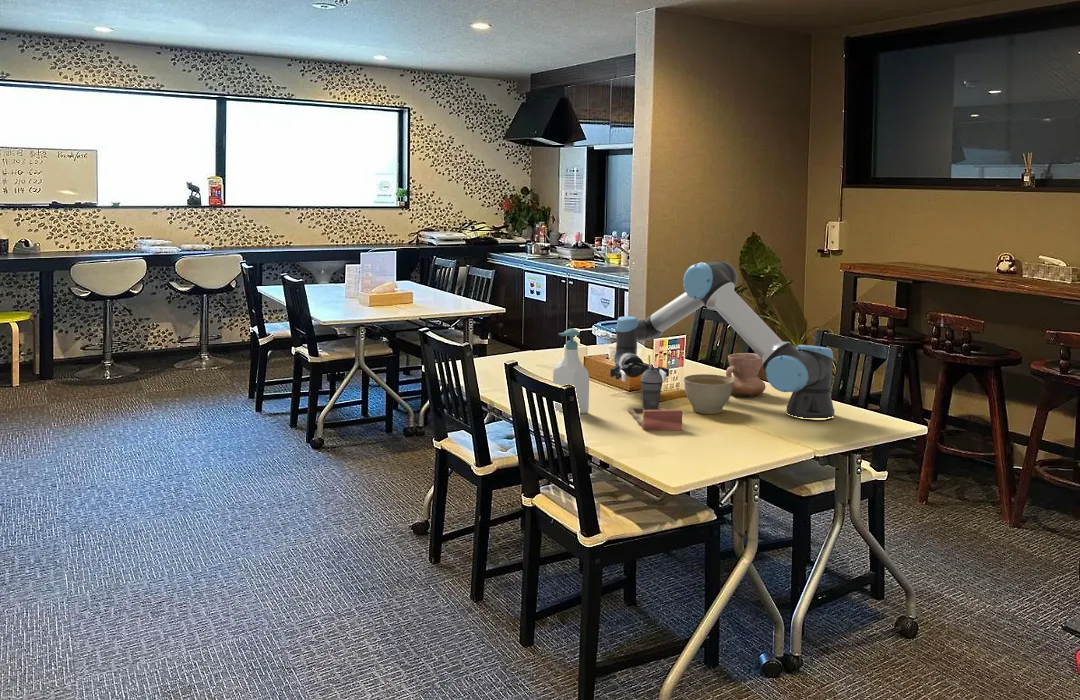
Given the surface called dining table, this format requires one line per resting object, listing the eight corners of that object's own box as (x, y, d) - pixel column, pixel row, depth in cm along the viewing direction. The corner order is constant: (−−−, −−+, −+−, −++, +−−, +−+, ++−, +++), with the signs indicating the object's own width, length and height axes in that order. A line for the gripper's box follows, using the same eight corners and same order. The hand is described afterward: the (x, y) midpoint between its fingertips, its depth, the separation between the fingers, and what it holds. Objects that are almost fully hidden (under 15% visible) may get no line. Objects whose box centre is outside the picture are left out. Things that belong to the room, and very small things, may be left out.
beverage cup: (655, 420, 289) (658, 358, 286) (635, 417, 293) (637, 356, 290) (665, 415, 295) (667, 355, 292) (644, 412, 299) (647, 352, 296)
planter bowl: (679, 404, 311) (681, 373, 309) (727, 405, 310) (729, 374, 308) (685, 416, 295) (686, 383, 293) (735, 417, 294) (737, 384, 293)
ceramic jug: (745, 387, 338) (746, 350, 336) (776, 394, 327) (777, 355, 324) (710, 394, 328) (711, 355, 326) (740, 402, 317) (742, 361, 314)
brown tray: (628, 411, 300) (628, 394, 299) (663, 411, 301) (664, 393, 300) (643, 430, 277) (644, 411, 276) (681, 430, 278) (682, 410, 277)
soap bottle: (548, 409, 302) (549, 327, 297) (568, 406, 306) (569, 325, 302) (568, 416, 293) (569, 332, 288) (588, 413, 298) (590, 330, 293)
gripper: (665, 375, 324) (681, 388, 303) (596, 375, 321) (607, 389, 300) (666, 354, 322) (682, 366, 302) (597, 354, 320) (607, 366, 299)
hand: (644, 377), depth 301 cm, fingers open, 13 cm apart
